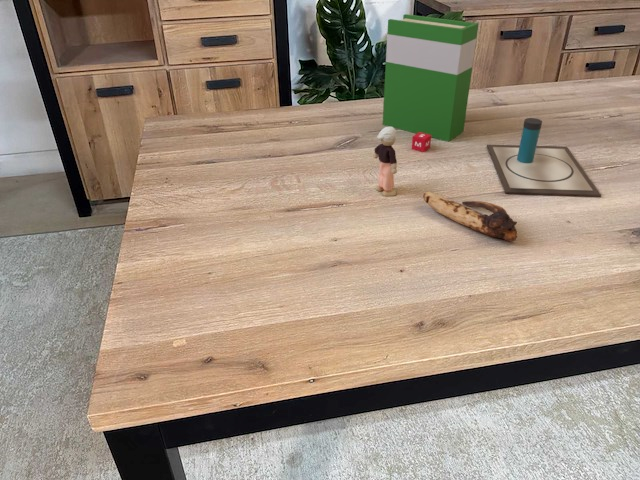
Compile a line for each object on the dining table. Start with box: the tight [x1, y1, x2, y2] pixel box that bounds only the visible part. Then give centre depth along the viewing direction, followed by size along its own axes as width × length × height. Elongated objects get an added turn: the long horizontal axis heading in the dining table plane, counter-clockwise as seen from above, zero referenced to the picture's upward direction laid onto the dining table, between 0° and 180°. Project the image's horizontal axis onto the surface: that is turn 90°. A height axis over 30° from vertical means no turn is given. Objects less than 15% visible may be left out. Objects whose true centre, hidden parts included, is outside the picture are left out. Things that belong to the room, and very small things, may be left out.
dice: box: [411, 132, 432, 153], centre depth 117 cm, size 3×3×3 cm
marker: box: [517, 117, 543, 163], centre depth 108 cm, size 3×3×8 cm
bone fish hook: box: [422, 191, 518, 242], centre depth 91 cm, size 9×5×18 cm
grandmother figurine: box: [372, 126, 398, 197], centre depth 98 cm, size 8×4×13 cm, turn 35°
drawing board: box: [486, 144, 602, 198], centre depth 108 cm, size 17×22×1 cm
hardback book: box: [382, 13, 479, 142], centre depth 121 cm, size 18×7×24 cm, turn 52°
